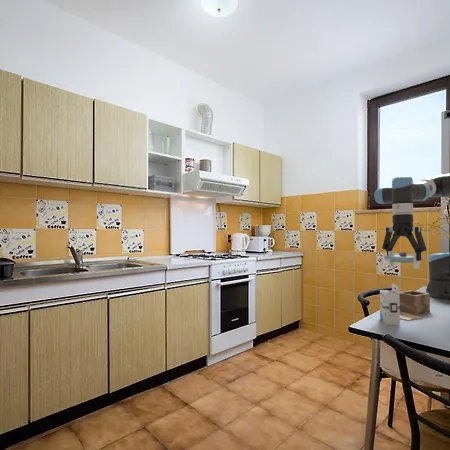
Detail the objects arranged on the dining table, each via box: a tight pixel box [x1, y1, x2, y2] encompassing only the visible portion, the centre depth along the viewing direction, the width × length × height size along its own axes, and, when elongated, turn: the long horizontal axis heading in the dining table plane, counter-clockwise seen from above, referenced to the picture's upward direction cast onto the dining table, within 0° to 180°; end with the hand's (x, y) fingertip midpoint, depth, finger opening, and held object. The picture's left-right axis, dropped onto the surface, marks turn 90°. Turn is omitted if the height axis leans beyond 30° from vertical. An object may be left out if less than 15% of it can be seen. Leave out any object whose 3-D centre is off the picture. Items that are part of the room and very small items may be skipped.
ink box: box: [379, 283, 401, 327], centre depth 121 cm, size 9×5×15 cm, turn 168°
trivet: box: [400, 311, 423, 322], centre depth 128 cm, size 9×9×1 cm
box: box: [399, 290, 431, 316], centre depth 136 cm, size 10×8×8 cm
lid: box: [383, 251, 424, 264], centre depth 129 cm, size 10×10×4 cm
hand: (403, 267), depth 129 cm, fingers closed on lid, 10 cm apart
